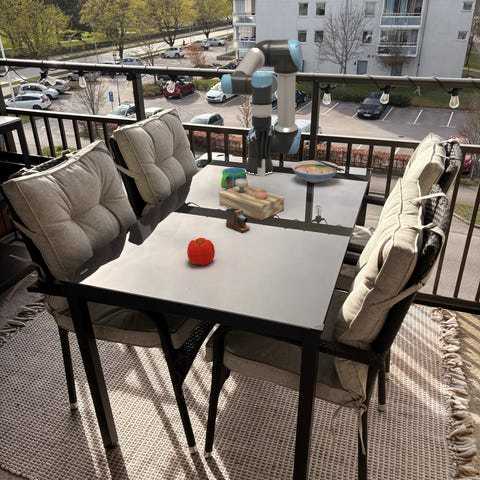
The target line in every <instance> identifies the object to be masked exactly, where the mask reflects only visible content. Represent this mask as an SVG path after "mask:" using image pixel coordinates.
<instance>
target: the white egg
mask: <svg viewBox="0 0 480 480" xmlns="http://www.w3.org/2000/svg"><path fill="white" fill-rule="evenodd" d="M248 182H249V181H248V179H236V180H235V185H236V186H238V187H239V193H244V187H245V186H248V187H249V185H248V184H249V183H248Z"/></svg>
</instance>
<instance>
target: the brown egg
mask: <svg viewBox="0 0 480 480" xmlns="http://www.w3.org/2000/svg"><path fill="white" fill-rule="evenodd" d="M259 190H260V191H255V198H256V199H266V198H267V192H268V191H266V190H262V189H259Z"/></svg>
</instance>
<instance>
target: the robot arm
mask: <svg viewBox="0 0 480 480" xmlns="http://www.w3.org/2000/svg"><path fill="white" fill-rule="evenodd" d="M303 57H304V56H303V48H302V44H301V42H300V41H299V40H298V39H288V38H287V39H264V40H261V41H258V42H256V43H254V44H253V45H251V46H250V47H249V48H248V49H247V50H246V51H245V53H244V55H243V59H242V60H241V61H240V63H239V64H238V66H237V67H236V68H235V69H234V71H233V72H232V73H227V74H223V75H222V77H221V80H220V89H221V92H222V93H223V94H224V95H230V96H231V95H239V96H240V95H246V96H251V114H252V116H251V125H252V128H250V129H249V131H248V137H247V139H248V141H247V142H248V146H247V147H248V152H247V153H248V155H247V156H248V157H247V161H246V164H245V167H244V170H246V171H247V172H250V173H254V174H258V175H257V176H261V177H264V176H266V175H265V173H268V172H271V171H273V170H274V171H275V169H274V168H275V166H274V165H273V161H272V160H273V159H272V156H271V155H272V153H273V154H286V155H293V154H294V155H295V154H296V153H297V152H299V148H300V143H301V140H302V139H301V137H302V131H301V130H299V126H298V125H297V124H296V77H297V73H299V71H300V68H302V67H303ZM261 68H273V73H274V74H273V73H272V72H270V71H258V70H259V69H261ZM275 93H277V101H276V103H277V108H276V109H277V111H276V112H277V124H276V125H275V126H274V129H273V128H272V113H273V109H272V108H273V106H272V104H273V103H272V98H273V94H275Z"/></svg>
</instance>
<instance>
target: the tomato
mask: <svg viewBox="0 0 480 480" xmlns="http://www.w3.org/2000/svg"><path fill="white" fill-rule="evenodd" d="M215 253H216V249H215V245H214V243H213V242H212V241H211V240H210V239H206V238H205V237H198V238H195V239H191V240H190V241H189V243H188V245H187V249H186V255H187V258H188V260H189V262H190V263H192V264H194V265H201V266H204V265H208V264H210V263H211V261H212V260H213V259H214V258H215Z"/></svg>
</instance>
